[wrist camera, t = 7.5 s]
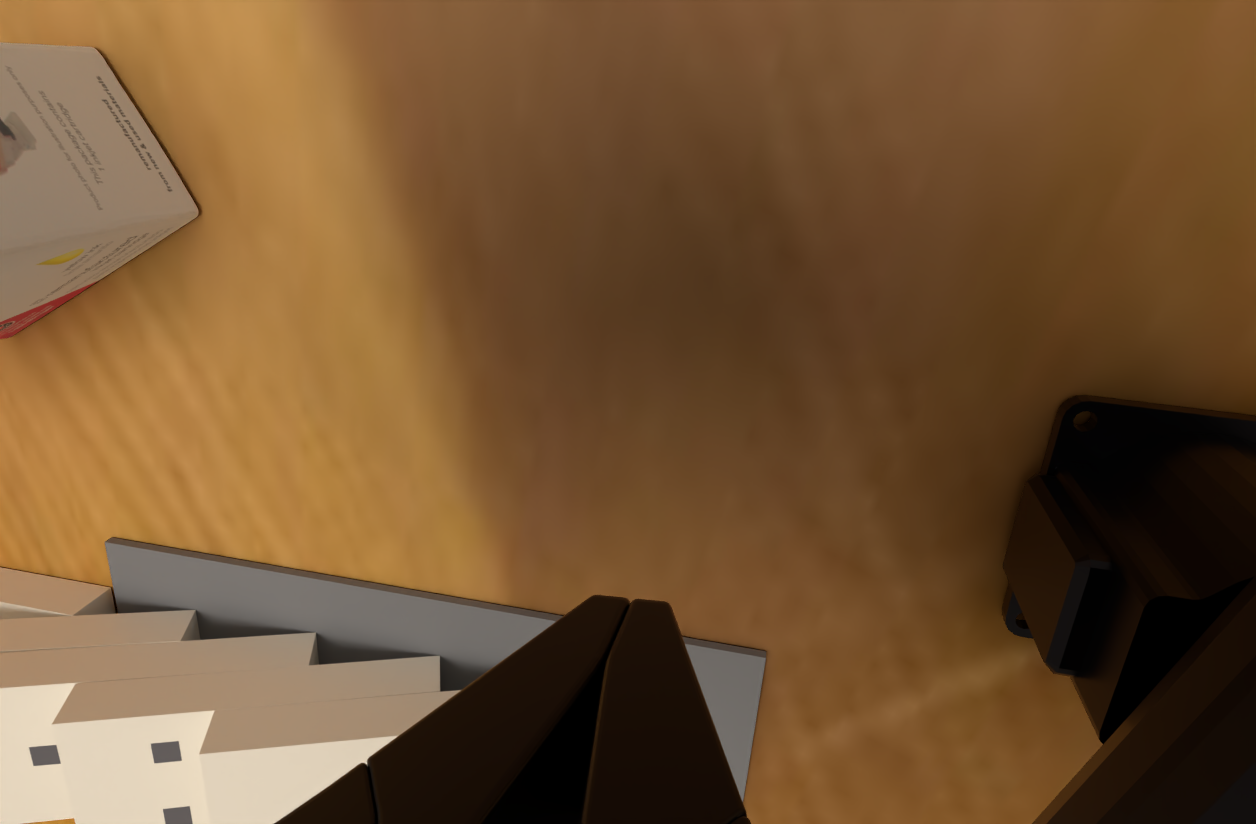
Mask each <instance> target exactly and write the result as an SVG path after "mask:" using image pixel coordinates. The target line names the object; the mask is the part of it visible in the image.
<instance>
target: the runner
mask: <svg viewBox="0 0 1256 824" xmlns="http://www.w3.org/2000/svg"><path fill="white" fill-rule="evenodd" d="M105 547H106V552H107V557H108V562H109V568H110V573H111V578H112V583H113V589H114V594H115V599H116V604H117V609H118V614H121V613H141V612H161V611H182V610H196V615H197V621H198V628H199V634H200V640H207V639H222V638H238V637H253V636H268V635H283V634H299V633H314V632H316V637H317V648H318V660H319V665H323V664H336V663H349V662H362V661H375V660H388V659H401V658H414V657H427V656H440V692H443V691H455V690H462V689H464V688H465V687H467V686H468V685H469V684H471V683H472V682H473V681H475V680H476V679H478V678H479V677H480V676H482V675H483V674H484V673H486V672H487V671H489V670H490V669H491V668H493V667H494V666H496V665H497V664H498V663H500V662H501V661H502V660H504V659H505V658H507V657H508V656H509V655H511V654H512V653H513V652H515V651H516V650H518V649H519V648H520V647H522V646H523V645H524V644H526V643H527V642H529V641H530V640H531V639H533V638H534V637H536V636H537V635H538V634H540V633H541V632H542V631H544V630H545V629H547V628H548V627H549V626H551V625H552V624H553V623H555V622H556V621H558V620H559V619H560V618H562V617H563V616H560V615H554V614H549V613H543V612H537V611H531V610H526V609H520V608H514V607H508V606H503V605H497V604H491V603H485V602H480V601H474V600H468V599H463V598H457V597H451V596H445V595H440V594H434V593H428V592H422V591H417V590H411V589H405V588H399V587H394V586H388V585H382V584H376V583H371V582H365V581H359V580H353V579H348V578H342V577H336V576H330V575H325V574H319V573H313V572H307V571H302V570H296V569H290V568H284V567H279V566H273V565H267V564H262V563H256V562H250V561H244V560H239V559H233V558H227V557H221V556H216V555H210V554H204V553H198V552H193V551H187V550H181V549H175V548H170V547H164V546H158V545H152V544H147V543H141V542H135V541H129V540H124V539H118V538H110V539H108V540H107V541H105ZM682 638H683V640H684V643H685V646H686V649H687V651H688V654H689V657H690V659H691V662H692V665H693V668H694V670H695V673H696V676H697V679H698V681H699V684H700V687H701V690H702V692H703V695H704V698H705V701H706V703H707V706H708V709H709V712H710V714H711V717H712V720H713V722H714V725H715V728H716V731H717V733H718V736H719V739H720V742H721V744H722V747H723V750H724V753H725V755H726V758H727V761H728V764H729V766H730V769H731V772H732V775H733V777H734V780H735V783H736V785H737V788H738V791H739V794H740V796H741V799H742V802H743V798H744V792H745V786H746V780H747V773H748V767H749V761H750V755H751V748H752V742H753V736H754V729H755V723H756V717H757V711H758V704H759V698H760V692H761V686H762V679H763V673H764V667H765V661H766V651H761V650H755V649H750V648H744V647H738V646H732V645H727V644H721V643H715V642H709V641H704V640H698V639H692V638H686V637H682Z"/></svg>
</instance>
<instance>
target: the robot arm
mask: <svg viewBox="0 0 1256 824" xmlns="http://www.w3.org/2000/svg"><path fill="white" fill-rule="evenodd" d="M1083 411H1090V412H1092V417H1091V419H1090V420H1089V422H1087V423H1085V424H1084V425H1074V424H1073V420H1074V418H1075V416H1076V415H1077V414H1079V413H1080V412H1083ZM1003 569H1004V571H1005V574H1006V576H1007V578H1008V580H1009V586H1008V589H1007V593H1006V596H1005V600H1004V603H1003V607H1002V616H1003V619H1004V621H1005V624H1006V626H1007V628H1008V630H1009V631H1011V632H1012V633H1013V634H1015V635H1018V636H1021V637H1026V638H1032V639H1034V641H1035V643H1036V645H1037V648H1038V650H1039V652H1040V655H1041V657H1042V659H1043V661H1044V662H1045V664H1046V665H1047V666H1048V667H1049V669H1050V670H1051V671H1052V672H1053V674H1059V675H1065V676H1070V678H1071V680H1072V682H1073V684H1074V686H1075V689H1076V691H1077V693H1078V695H1079V697H1080V699H1081V701H1082V704H1083V706H1084V708H1085V710H1086V712H1087V714H1088V716H1089V719H1090V721H1091V723H1092V725H1093V727H1094V729H1095V731H1096V734H1097V736H1098V738H1099V740H1100V741H1101V742H1102V744H1103V745H1102V747H1101V748H1100V749H1099V750H1098V751H1097V752H1096V753H1095V754H1094V755H1093V757H1092V758H1091V759H1090V760H1089V761H1088V762H1087V763H1086V764H1085V765H1084V766H1083V768H1082V769H1081V770H1080V771H1079V772H1078V773H1077V774H1076V775H1075V776H1074V778H1073V779H1072V780H1071V781H1070V782H1069V783H1068V784H1067V785H1066V786H1065V788H1064V789H1063V790H1062V791H1061V792H1060V793H1059V794H1058V795H1057V796H1056V798H1055V799H1054V800H1053V801H1052V802H1051V803H1050V804H1049V805H1048V806H1047V808H1046V809H1045V810H1044V811H1043V812H1042V813H1041V814H1040V815H1039V816H1038V818H1037V819H1036V820H1035V821H1034V822H1033V823H1032V824H1256V416H1252V415H1244V414H1235V413H1227V412H1219V411H1211V410H1203V409H1194V408H1186V407H1178V406H1170V405H1161V404H1153V403H1145V402H1137V401H1128V400H1120V399H1112V398H1104V397H1096V396H1087V395H1082V396H1075V397H1072V398H1070V399H1068V400H1066V401H1065V402H1064V403H1063V404H1062V405H1061V406H1060V408H1059V410H1058V412H1057V415H1056V419H1055V422H1054V426H1053V429H1052V433H1051V437H1050V440H1049V444H1048V447H1047V451H1046V454H1045V458H1044V461H1043V465H1042V468H1041V472H1040V474H1035V475H1034V476H1033V477H1031V478H1030V479H1029V480H1027V481H1026V483H1025V486H1024V490H1023V494H1022V497H1021V501H1020V504H1019V508H1018V512H1017V515H1016V519H1015V523H1014V526H1013V530H1012V534H1011V537H1010V541H1009V544H1008V548H1007V552H1006V555H1005V559H1004V563H1003ZM1021 613H1023V615H1024V618H1025V620H1019V619H1016V617H1017V616H1018V615H1019V614H1021ZM367 766H368V767H367ZM274 824H751V823H750V820H749V819H748V818H747V814H746V810H745V807H744V805H743V802H742V799H741V796H740V794H739V791H738V788H737V785H736V783H735V780H734V777H733V775H732V772H731V769H730V766H729V764H728V761H727V758H726V755H725V753H724V750H723V747H722V744H721V742H720V739H719V736H718V733H717V731H716V728H715V725H714V722H713V720H712V717H711V714H710V712H709V709H708V706H707V703H706V701H705V698H704V695H703V692H702V690H701V687H700V684H699V681H698V679H697V676H696V673H695V670H694V668H693V665H692V662H691V659H690V657H689V654H688V651H687V649H686V646H685V643H684V640H683V638H682V635H681V632H680V629H679V627H678V624H677V621H676V618H675V616H674V613H673V610H672V608H671V606H670V604H669V603H667V602H665V601H655V600H644V599H635V600H633V601H632V602H631V603H630V601H629V600H628V599H627V598H623V597H613V596H603V595H593V596H591V597H589V598H588V599H587V600H585V601H584V602H582V603H581V604H580V605H578V606H577V607H576V608H574V609H573V610H571V611H570V612H569V613H567V614H566V615H565V616H563V617H562V618H560V619H559V620H558V621H556V622H555V623H553V624H552V625H551V626H549V627H548V628H547V629H545V630H544V631H542V632H541V633H540V634H538V635H537V636H536V637H534V638H533V639H531V640H530V641H529V642H527V643H526V644H524V645H523V646H522V647H520V648H519V649H518V650H516V651H515V652H513V653H512V654H511V655H509V656H508V657H507V658H505V659H504V660H502V661H501V662H500V663H498V664H497V665H496V666H494V667H493V668H491V669H490V670H489V671H487V672H486V673H484V674H483V675H482V676H480V677H479V678H478V679H476V680H475V681H473V682H472V683H471V684H469V685H468V686H467V687H465V688H464V689H462V690H461V691H460V692H458V693H457V694H455V695H454V696H453V697H451V698H450V699H449V700H447V701H446V702H444V703H443V704H442V705H440V706H439V707H438V708H436V709H435V710H433V711H432V712H431V713H429V714H428V715H426V716H425V717H424V718H422V719H421V720H420V721H418V722H417V723H415V724H414V725H413V726H411V727H410V728H409V729H407V730H406V731H404V732H403V733H402V734H400V735H399V736H397V737H396V738H395V739H393V740H392V741H391V742H389V743H388V744H386V745H385V746H384V747H382V748H381V749H380V750H378V751H377V752H375V753H374V754H373V755H371V756H370V757H369V758H368V759H367V764H365V763H360V764H358V765H357V766H356V767H354V768H353V769H351V770H350V771H349V772H347V773H346V774H345V775H343V776H342V777H340V778H339V779H338V780H336V781H335V782H333V783H332V784H331V785H329V786H328V787H326V788H325V789H324V790H322V791H321V792H319V793H318V794H316V795H315V796H313V797H312V798H310V799H309V800H308V801H306V802H305V803H303V804H302V805H300V806H299V807H297V808H296V809H295V810H293V811H292V812H290V813H289V814H287V815H286V816H284V817H283V818H281V819H280V820H278V821H277V822H275V823H274Z"/></svg>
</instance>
